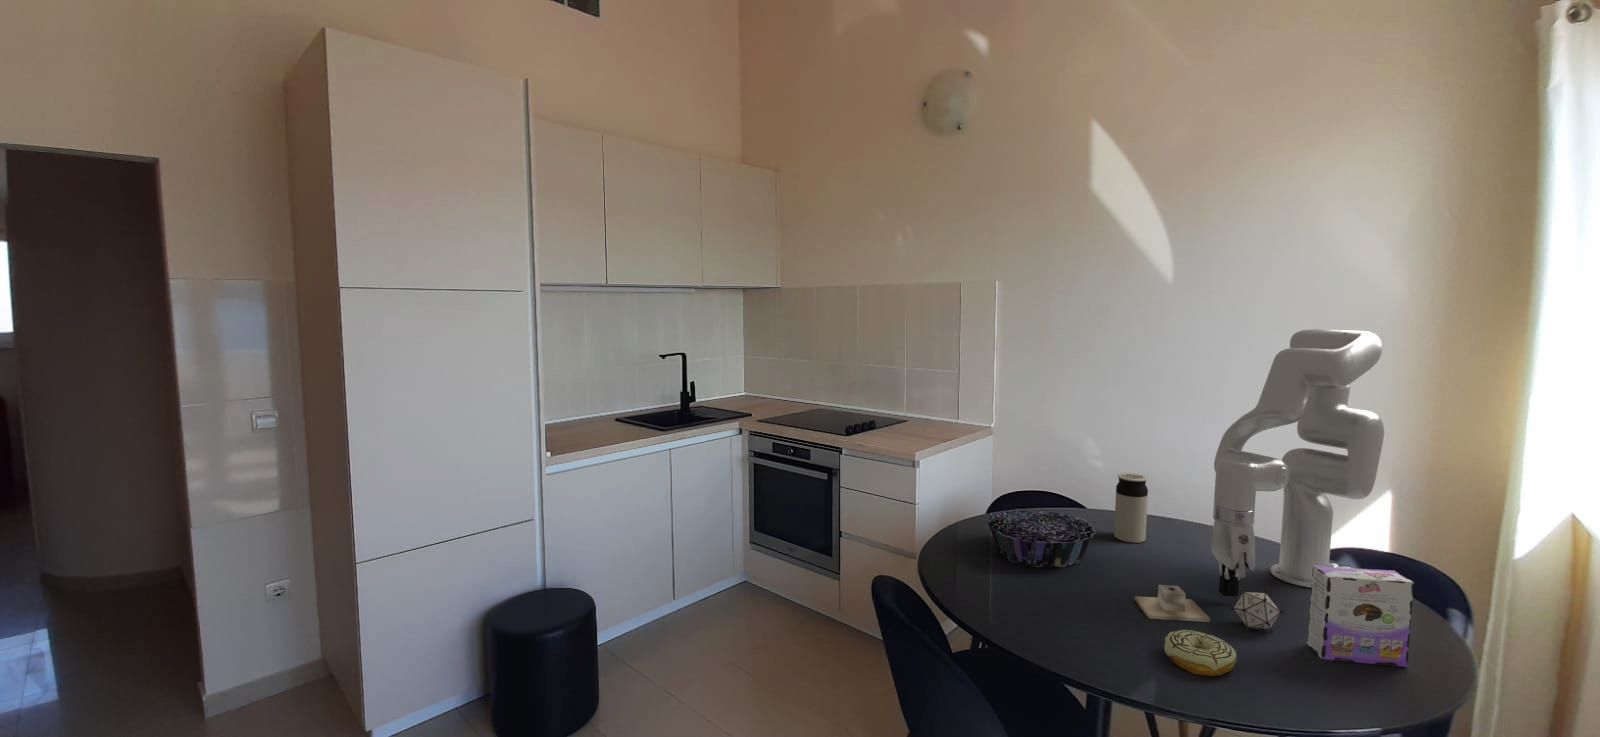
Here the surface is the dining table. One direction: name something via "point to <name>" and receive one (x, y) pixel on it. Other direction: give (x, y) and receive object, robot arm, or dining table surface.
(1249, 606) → the game die
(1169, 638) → the decorated donut
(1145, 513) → the travel mug
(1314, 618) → the candy box
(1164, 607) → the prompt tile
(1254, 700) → the dining table surface
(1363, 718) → the dining table surface
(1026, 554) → the decorative bowl
